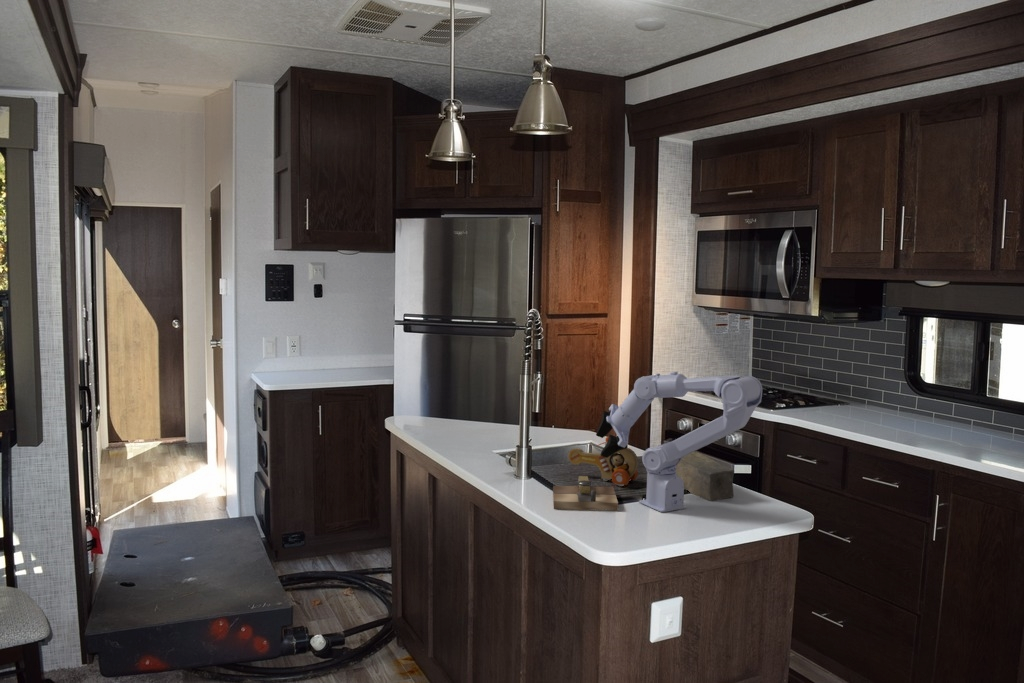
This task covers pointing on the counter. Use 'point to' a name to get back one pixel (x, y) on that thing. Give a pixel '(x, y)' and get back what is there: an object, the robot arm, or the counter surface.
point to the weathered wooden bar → (705, 477)
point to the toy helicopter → (609, 463)
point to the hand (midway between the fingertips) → (601, 445)
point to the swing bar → (584, 484)
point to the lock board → (584, 498)
